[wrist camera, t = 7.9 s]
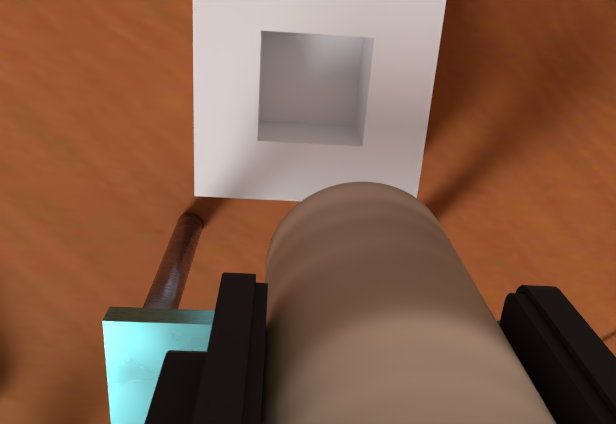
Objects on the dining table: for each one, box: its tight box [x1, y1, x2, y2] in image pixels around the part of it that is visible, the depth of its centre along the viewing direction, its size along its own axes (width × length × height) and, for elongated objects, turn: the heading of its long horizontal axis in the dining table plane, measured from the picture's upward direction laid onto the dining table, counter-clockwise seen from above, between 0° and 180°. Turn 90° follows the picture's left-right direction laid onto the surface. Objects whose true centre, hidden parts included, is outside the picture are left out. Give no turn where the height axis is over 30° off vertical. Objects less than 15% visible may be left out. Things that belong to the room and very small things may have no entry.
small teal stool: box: [103, 213, 500, 424], centre depth 31 cm, size 6×16×16 cm, turn 86°
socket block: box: [193, 0, 446, 201], centre depth 32 cm, size 12×12×5 cm
